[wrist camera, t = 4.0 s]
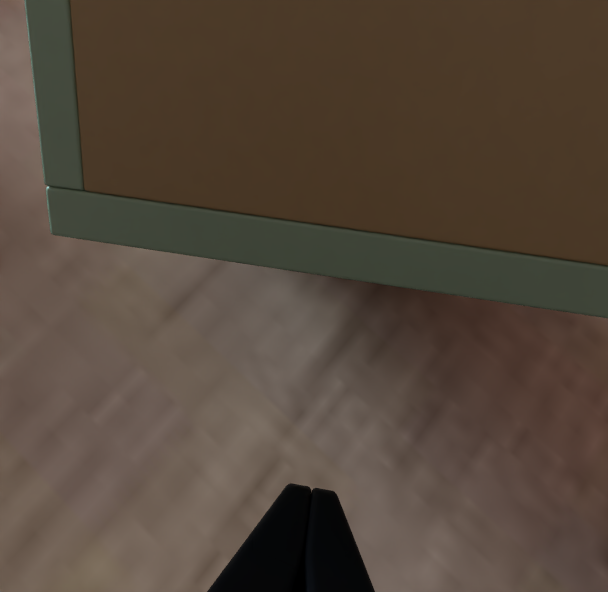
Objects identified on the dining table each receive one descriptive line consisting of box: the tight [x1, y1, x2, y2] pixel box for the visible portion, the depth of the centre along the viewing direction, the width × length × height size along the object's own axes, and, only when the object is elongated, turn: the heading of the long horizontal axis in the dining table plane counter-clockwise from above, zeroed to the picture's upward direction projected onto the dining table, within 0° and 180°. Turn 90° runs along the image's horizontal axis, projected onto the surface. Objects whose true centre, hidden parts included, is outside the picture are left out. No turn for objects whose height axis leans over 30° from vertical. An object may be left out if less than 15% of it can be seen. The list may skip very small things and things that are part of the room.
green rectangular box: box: [24, 0, 608, 318], centre depth 14 cm, size 5×12×13 cm
